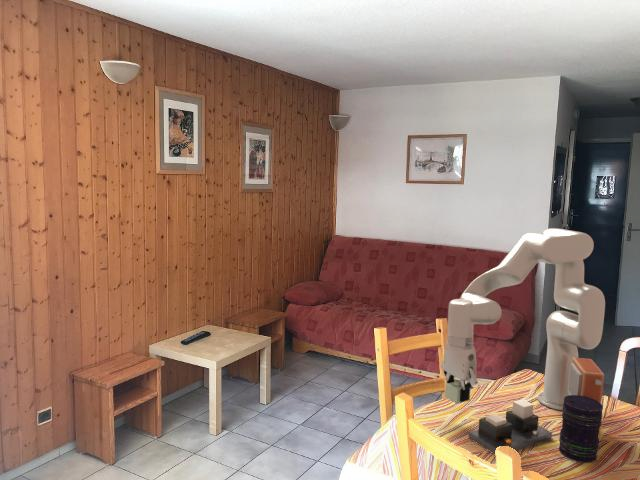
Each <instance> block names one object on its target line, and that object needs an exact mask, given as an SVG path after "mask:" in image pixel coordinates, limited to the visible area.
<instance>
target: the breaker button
mask: <svg viewBox="0 0 640 480" xmlns="http://www.w3.org/2000/svg"><path fill="white" fill-rule="evenodd" d="M511 410H512V413H513V414H515V415H517V416H519V417H521V418H522V419H525V418H528V417H531V416H532V415H533V414H534V404H533V403H531V402H529V401H527V400H525V399H519V400H514V401H513V402H512V409H511Z"/></svg>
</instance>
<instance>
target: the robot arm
mask: <svg viewBox="0 0 640 480" xmlns="http://www.w3.org/2000/svg"><path fill="white" fill-rule="evenodd" d="M594 244H595V243H594V240H593V238H592V237H591V236H590V235H589V234H587V233H586V232H581V231H576V230H570V229H564V228H557V227H556V228H555V227H551V228H545V230H543V231H542V232H541V233H538V232H527V233H525V234H523V235H522V236H521V237H520V238H519V239H518V240H517V242H516V243H515V244H514V246H512V248H511V249H510V250H509V252H508V254H506V255H505V257H504V258H503V259H502V260H501V262H500V263H499V264H498V265H497V266H495V267H493V268H492V269H490V270H487V271H486V272H484V273H482V274H481V275H479V276H477V277H476V278H475V279H473V281H471V282H470V284H468V286H467V288H466V289H465V290H464V291H463V292H462V293H461V295H460V298H455V299H452V300H450V301H449V303H448V310H447V311H448V314H447V337H446V338H447V339H446V340H447V341H446V342H445V347H444V353H443V362H442V363H441V365H440V368H441V369H442V371H443V374H444V377H445V379H444V380H445V381H446V384H447V383H451V382H454V381H455V380H456V378H457V379H458V380H461V385H462V389H460V401H461V402H462V403H464V402H463V401H466V402H468V401H467V400H469V390H470V391H471V389H472V388H473V387H474V386H475V385H477V384H478V383H479V382H478V380H477V354H476V348H475V346H474V345H475V342H474V330H475V329H474V326H475V325H492V324H495V323H497V322H499V320H500V319H501V317H502V307H501V306H500V304H499V303H498V302H496V301H495V300H492V299H490V298H487V296H488V295H489V294H490V293H491V292H494V291H495V290H498V289H501V288H505V287H511V286H512V287H513V286H517V285H520V284H522V283H523V282H524V280H525V279H526V278H527V276H528V275H529V274H530V272H531V271H533V269H534V267H535V266H536V265H537V264H538V263H539V262H540V263H545V264H548V265H555V266H554V267H555V276H554V286H553V287H554V288H553V300H554V303H555V304H556V305H558V306H559V307H561V308H563V309H566V310H555V311H552V313H551V314H549V315H548V317H547V319H546V326H545V328H546V335H547V336H546V337H547V346H546V347H547V348H546V349H547V350H546V359H545V369H544V380H543V381H544V382H543V390H542V392H540V393H538V395H537V400H538V402H539V403H540V404H542V405H543V406H545V407H547V408H551V409H552V410H553V409H554V410H558V411H562V409H563V404H564V398H565V397H566V396H569V393H568V385H569V376H570V366H571V365H570V364H571V363H572V361H573V357H575V358H579V352H578V351H579V350H578V348H581V349H585V350H593V349H595V348H597V346H599V344H600V342H601V340H602V336H603V330H604V323H605V322H604V321H605V320H604V319H605V312H606V300H605V298H606V297H605V295H604V293H603V291H602V290H601V289H599V288H598V287H596V286H594V285H591V284H587V283H585V263H584V260H585V259H587V258H588V257H589V256H591V254H592V252H593V250H594V247H595V246H594ZM567 310H569V311H567ZM570 311H572V312H573V313H572V312H570ZM574 312H575V313H574ZM576 313H578V314H576ZM469 401H470V400H469Z"/></svg>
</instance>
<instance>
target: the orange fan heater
mask: <svg viewBox="0 0 640 480" xmlns="http://www.w3.org/2000/svg"><path fill="white" fill-rule="evenodd" d="M570 365H571V366H570V376H569V385H568V393H569V395H579V396H585V397H589V398H592V399H594V400H596V401H598V402H600V403H601V404H602V399H603V394H604V380H605V374H604V372H603V371H602V370H601V369H600V368H599V366H598V365H597V364H596V362H595V361H594V360H593V359H592V358H586V357H585V358H584V357H583V358H582V357H578V358H575V357H573V361H572V363H571V364H570Z"/></svg>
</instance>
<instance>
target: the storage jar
mask: <svg viewBox="0 0 640 480" xmlns="http://www.w3.org/2000/svg"><path fill="white" fill-rule="evenodd" d="M603 407H604V405H603V404H602V402H601V403H600V402H598V401H596V400H594V399H592V398H589V397H585V396H579V395H569V396H566V397H565V398H564V404H563V409H562V410H561V411H562V414H561V419H562V424H561V429H560V432H559V439H558V440H559V444H558V445H559V446H558V451H559V453H560V454H561V455H562V456H564V457H565V458H567V459H569V460H571V461H574V462H578V463H583V464H585V463H586V464H591V463H594V462H596V461H597V459H598V453H599V452H598V451H599V449H600V438H599V434H600V428H601V427H602V420H603V410H604V409H603Z"/></svg>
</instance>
